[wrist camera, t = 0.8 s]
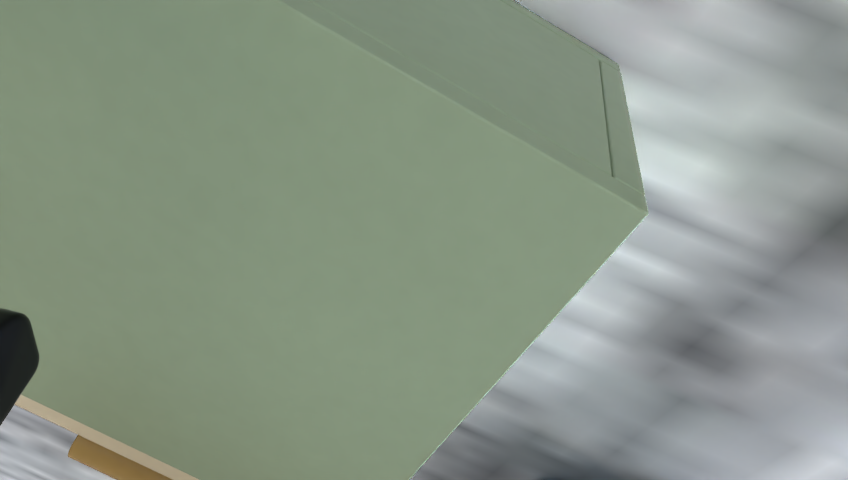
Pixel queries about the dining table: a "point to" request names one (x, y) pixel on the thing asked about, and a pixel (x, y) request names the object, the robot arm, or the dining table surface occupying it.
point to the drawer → (106, 450)
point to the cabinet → (298, 218)
